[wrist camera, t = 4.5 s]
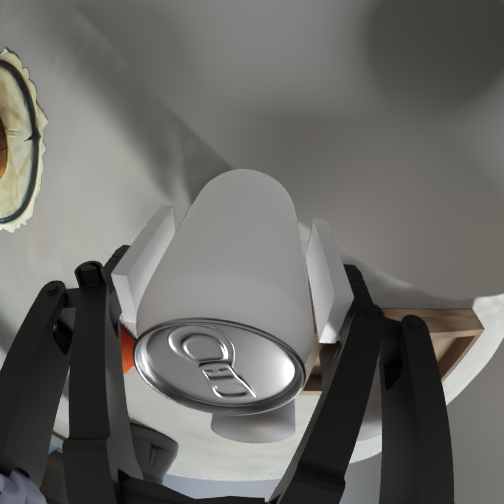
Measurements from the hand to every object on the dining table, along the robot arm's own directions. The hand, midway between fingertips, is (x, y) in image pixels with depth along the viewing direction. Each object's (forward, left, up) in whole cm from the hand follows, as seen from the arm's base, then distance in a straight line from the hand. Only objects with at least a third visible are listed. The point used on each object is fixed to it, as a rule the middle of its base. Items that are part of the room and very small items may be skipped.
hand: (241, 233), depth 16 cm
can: (0, 0, -3) cm, 3 cm away
